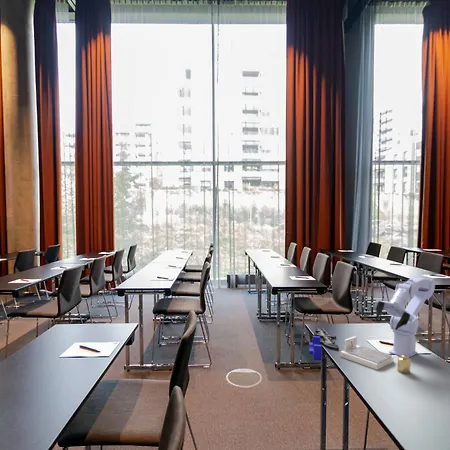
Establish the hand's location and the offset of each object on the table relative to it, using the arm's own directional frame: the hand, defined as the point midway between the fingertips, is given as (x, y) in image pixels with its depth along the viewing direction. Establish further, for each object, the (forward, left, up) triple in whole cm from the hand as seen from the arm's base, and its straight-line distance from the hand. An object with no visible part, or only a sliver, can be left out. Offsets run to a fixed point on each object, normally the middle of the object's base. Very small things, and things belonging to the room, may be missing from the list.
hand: (386, 322), depth 144 cm
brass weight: (-3, +6, -18) cm, 19 cm away
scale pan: (-2, -7, -15) cm, 17 cm away
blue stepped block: (+11, -25, -18) cm, 33 cm away
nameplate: (-9, -33, -18) cm, 39 cm away
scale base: (-2, -9, -18) cm, 20 cm away
